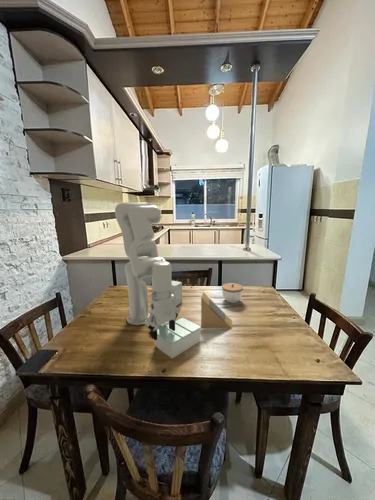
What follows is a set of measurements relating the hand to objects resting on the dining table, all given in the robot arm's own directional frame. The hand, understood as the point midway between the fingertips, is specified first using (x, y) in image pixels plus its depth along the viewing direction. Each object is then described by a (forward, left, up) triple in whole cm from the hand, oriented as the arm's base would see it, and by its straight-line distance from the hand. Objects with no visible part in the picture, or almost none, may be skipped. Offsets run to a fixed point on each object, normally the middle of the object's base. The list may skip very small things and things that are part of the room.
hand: (163, 333), depth 93 cm
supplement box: (-32, +34, -8) cm, 47 cm away
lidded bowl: (-9, +61, -8) cm, 62 cm away
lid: (0, +8, -2) cm, 8 cm away
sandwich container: (+1, +33, -9) cm, 34 cm away
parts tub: (0, +8, -8) cm, 11 cm away
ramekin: (-15, +12, -8) cm, 21 cm away
